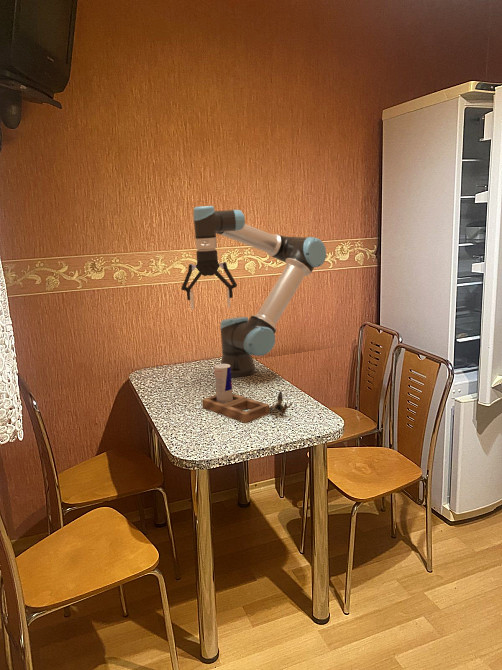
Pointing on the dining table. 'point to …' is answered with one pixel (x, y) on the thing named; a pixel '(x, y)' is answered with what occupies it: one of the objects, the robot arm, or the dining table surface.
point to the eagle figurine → (280, 405)
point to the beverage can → (223, 383)
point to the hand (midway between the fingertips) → (210, 307)
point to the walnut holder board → (237, 408)
